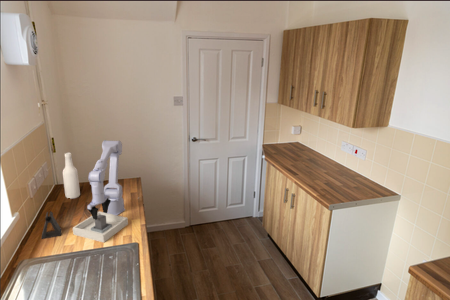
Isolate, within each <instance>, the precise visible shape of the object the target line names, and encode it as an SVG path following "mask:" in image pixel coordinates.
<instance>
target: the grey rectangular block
mask: <svg viewBox="0 0 450 300" xmlns="http://www.w3.org/2000/svg"><path fill="white" fill-rule="evenodd" d="M95 227H96V229H99V230H103V229H104V228H106V227H107V223H106V216H105V215H98V216H97V220H95Z"/></svg>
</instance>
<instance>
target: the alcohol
mask: <svg viewBox="0 0 450 300" xmlns="http://www.w3.org/2000/svg"><path fill="white" fill-rule="evenodd" d="M72 155H73V154H72V153H71V152H64V165H65V166H64V167H63V170H62V178H63V181H62V182H63V188H64V194H65V198H66V199H68V198H70V199H69V200H72V199H77V198H79V197H80V196H81V191H80V182H79V171H78V168H76V167H75V165H74V163H73V158H72Z"/></svg>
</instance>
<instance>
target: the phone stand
mask: <svg viewBox="0 0 450 300" xmlns="http://www.w3.org/2000/svg"><path fill="white" fill-rule="evenodd" d="M49 224H50V225H51V226H52V228H53V230H51V231H48V225H49ZM61 236H62V228H61V227H60V225H59V223H58V221H57V220H56V218H55V217H54V213H53V212H52V211H46V214H45V222H44V225H43V230H42V233H41V238H40V239H41V240H44V239H46V240H47V239H51V238H56V237H61Z"/></svg>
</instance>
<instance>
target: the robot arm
mask: <svg viewBox="0 0 450 300" xmlns="http://www.w3.org/2000/svg"><path fill="white" fill-rule="evenodd" d="M101 149H102V153H101V155H100V159H98V160H97V161H96V163H95V165H94V168H93V169H92V170H91V171H89V173H88V178H87V179H88V181H89V185H91V193H92V199H91V202H90V203H89V204H87V208H86V209H87V210H88V212H89V213H90V215H91V216H92V217H93V219H95V220H97V213H98V212H99V208H98V207H97V206H98V205H101V208H102V212H103V213H109V214H113V215H117V216H119V215H120V214H122V213H123V212H125V211H126V208H125V201H124V198H123V194H124V193H123V191H124V190H123V186H122V185H121V184H120V183H119V182H118V180H119V179H118V178H119V177H118V176H119V163H120V162H119V159H120V155H122V153H123V143H122V142H121V140H107V139H104V140H103V141H102V143H101ZM109 158H110V159H109ZM108 160H109V171H108V173H109V174H108V183H107V184H105V185H104V181H105V177H106V170H107V168H108Z"/></svg>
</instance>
